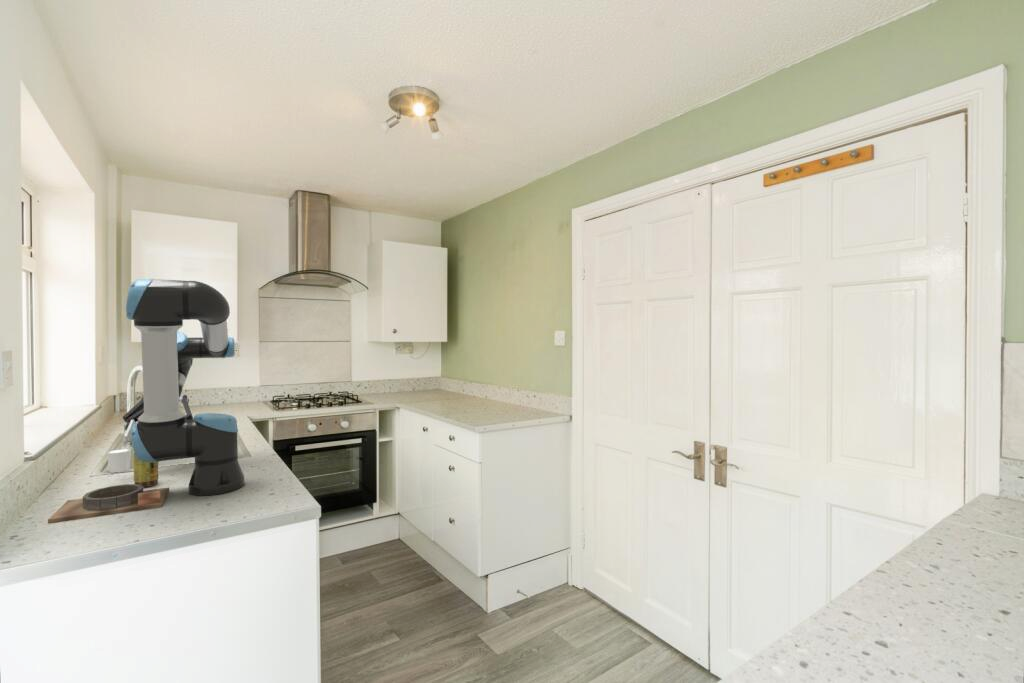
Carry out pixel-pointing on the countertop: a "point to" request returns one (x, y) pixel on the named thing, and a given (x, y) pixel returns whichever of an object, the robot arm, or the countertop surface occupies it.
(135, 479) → the sauce bottle
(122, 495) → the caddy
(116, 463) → the white cube
